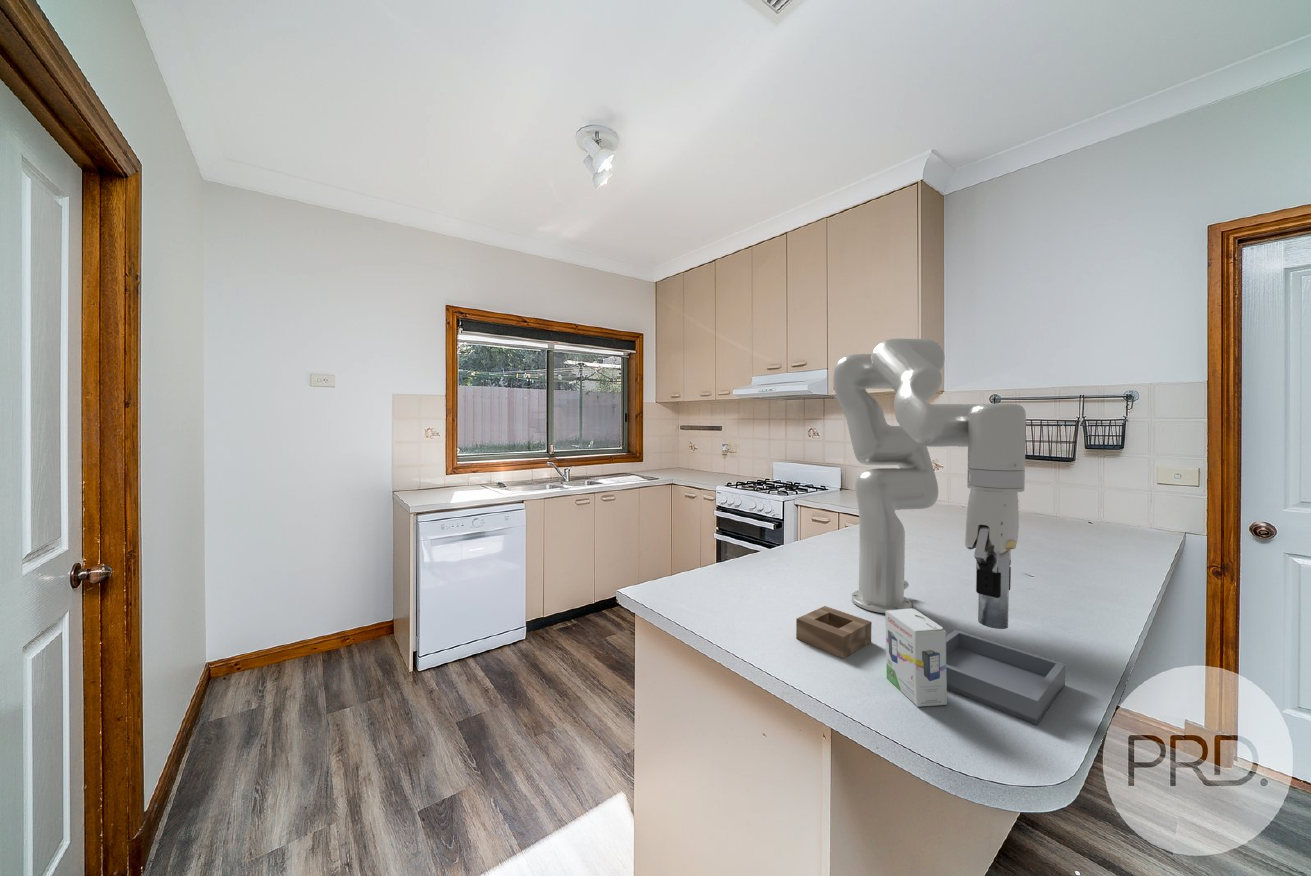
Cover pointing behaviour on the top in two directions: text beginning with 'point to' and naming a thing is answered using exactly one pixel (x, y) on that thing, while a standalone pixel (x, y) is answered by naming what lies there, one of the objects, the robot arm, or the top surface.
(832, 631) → the block
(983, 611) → the steel pin
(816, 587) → the top surface
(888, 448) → the robot arm
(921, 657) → the ink box
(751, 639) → the top surface
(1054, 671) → the tray
